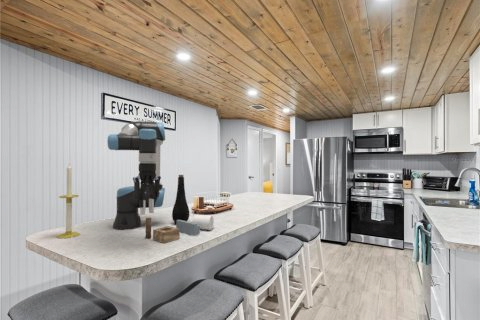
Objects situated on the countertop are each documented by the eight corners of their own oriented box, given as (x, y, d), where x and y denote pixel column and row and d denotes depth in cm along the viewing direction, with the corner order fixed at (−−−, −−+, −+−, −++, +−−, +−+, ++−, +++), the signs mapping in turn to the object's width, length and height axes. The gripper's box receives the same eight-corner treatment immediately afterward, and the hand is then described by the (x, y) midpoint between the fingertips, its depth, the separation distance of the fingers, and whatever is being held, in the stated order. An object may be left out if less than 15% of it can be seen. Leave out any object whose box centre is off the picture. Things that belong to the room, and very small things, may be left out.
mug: (209, 231, 140) (209, 217, 140) (192, 230, 142) (192, 216, 142) (215, 226, 151) (215, 213, 151) (199, 225, 153) (199, 212, 153)
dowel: (144, 238, 128) (144, 218, 128) (149, 236, 130) (149, 217, 130) (147, 239, 126) (147, 218, 126) (152, 237, 128) (152, 217, 128)
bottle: (192, 222, 160) (193, 174, 160) (180, 226, 151) (181, 175, 151) (180, 220, 165) (181, 174, 165) (168, 223, 157) (168, 175, 157)
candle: (73, 238, 126) (73, 163, 126) (52, 238, 126) (52, 162, 126) (84, 232, 136) (84, 162, 136) (64, 232, 136) (65, 162, 136)
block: (152, 239, 125) (153, 229, 125) (167, 235, 132) (167, 225, 132) (164, 243, 120) (164, 232, 120) (179, 238, 127) (179, 228, 127)
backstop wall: (176, 231, 140) (176, 220, 140) (183, 229, 144) (183, 218, 144) (194, 235, 132) (194, 224, 132) (201, 233, 136) (201, 222, 136)
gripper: (135, 162, 108) (135, 218, 108) (167, 162, 122) (167, 211, 122) (125, 162, 112) (125, 215, 112) (157, 162, 126) (157, 209, 126)
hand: (147, 213), depth 117 cm, fingers open, 4 cm apart
